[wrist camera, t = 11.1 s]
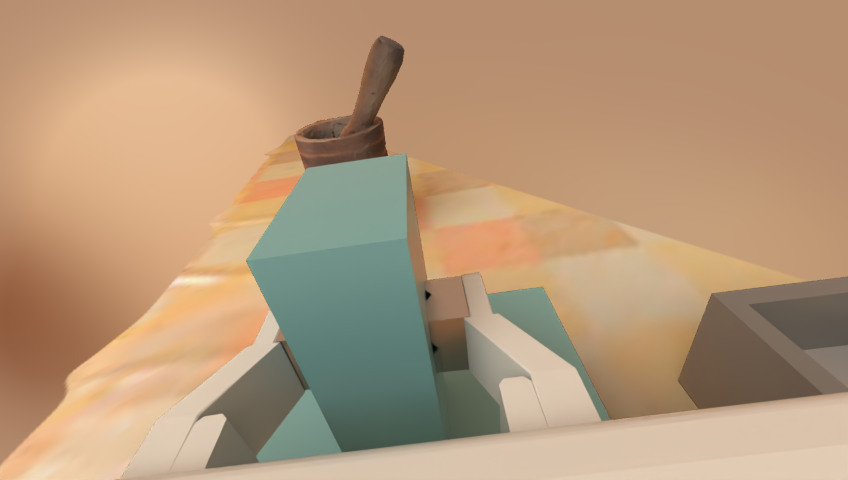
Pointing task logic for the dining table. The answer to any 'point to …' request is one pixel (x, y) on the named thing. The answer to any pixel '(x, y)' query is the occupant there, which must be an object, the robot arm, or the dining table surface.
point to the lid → (373, 318)
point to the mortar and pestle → (355, 115)
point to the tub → (770, 345)
